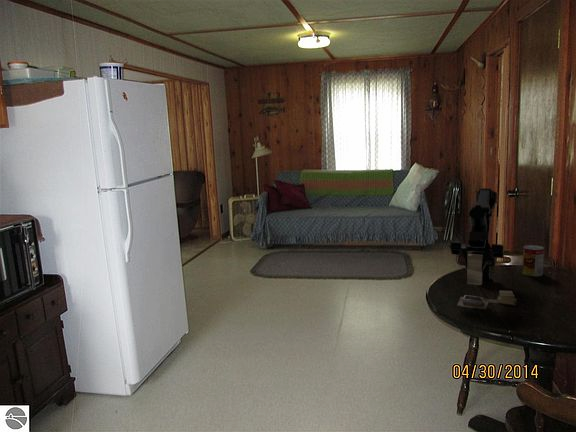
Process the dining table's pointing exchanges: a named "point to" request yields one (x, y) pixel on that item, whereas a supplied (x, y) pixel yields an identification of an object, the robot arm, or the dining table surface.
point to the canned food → (533, 260)
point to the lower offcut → (505, 301)
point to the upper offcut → (506, 295)
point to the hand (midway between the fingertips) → (474, 269)
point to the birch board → (474, 269)
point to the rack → (477, 302)
